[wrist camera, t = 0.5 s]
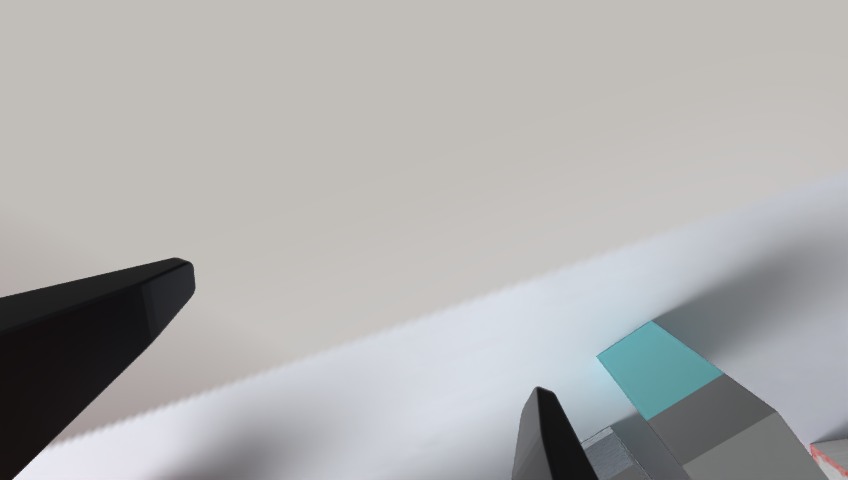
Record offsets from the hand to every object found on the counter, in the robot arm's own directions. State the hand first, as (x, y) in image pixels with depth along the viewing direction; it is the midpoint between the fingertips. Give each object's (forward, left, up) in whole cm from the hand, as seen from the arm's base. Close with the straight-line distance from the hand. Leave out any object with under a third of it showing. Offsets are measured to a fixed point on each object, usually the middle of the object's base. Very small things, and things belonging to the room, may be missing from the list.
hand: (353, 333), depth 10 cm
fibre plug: (+4, -15, -16) cm, 22 cm away
